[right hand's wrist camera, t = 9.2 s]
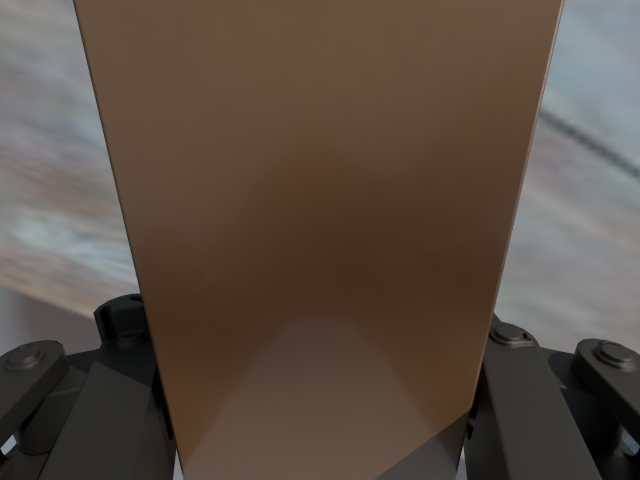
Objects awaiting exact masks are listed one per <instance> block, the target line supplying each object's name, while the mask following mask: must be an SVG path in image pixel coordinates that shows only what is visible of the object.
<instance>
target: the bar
mask: <svg viewBox="0 0 640 480" xmlns="http://www.w3.org/2000/svg"><path fill="white" fill-rule="evenodd" d="M564 2H565V0H73V3H74V8H75V12H76V16H77V21H78V25H79V29H80V34H81V38H82V42H83V47H84V51H85V55H86V60H87V64H88V68H89V72H90V77H91V81H92V85H93V90H94V94H95V98H96V103H97V107H98V111H99V116H100V120H101V124H102V129H103V133H104V137H105V142H106V146H107V150H108V155H109V159H110V163H111V168H112V172H113V176H114V181H115V185H116V189H117V194H118V198H119V202H120V206H121V211H122V215H123V219H124V224H125V228H126V232H127V237H128V241H129V245H130V250H131V254H132V258H133V263H134V267H135V271H136V276H137V280H138V284H139V289H140V293H141V297H142V302H143V306H144V310H145V315H146V319H147V323H148V328H149V332H150V336H151V340H152V345H153V349H154V353H155V358H156V362H157V366H158V371H159V375H160V379H161V384H162V388H163V392H164V397H165V401H166V405H167V410H168V414H169V418H170V423H171V427H172V431H173V436H174V440H175V444H176V449H177V453H178V457H179V462H180V466H181V470H182V474H183V479H184V480H455V478H456V474H457V469H458V465H459V461H460V456H461V452H462V447H463V443H464V439H465V434H466V430H467V426H468V421H469V417H470V412H471V408H472V404H473V399H474V395H475V391H476V386H477V382H478V377H479V373H480V369H481V364H482V360H483V356H484V351H485V347H486V343H487V338H488V334H489V329H490V325H491V321H492V316H493V312H494V308H495V303H496V299H497V294H498V290H499V286H500V281H501V277H502V273H503V268H504V264H505V259H506V255H507V251H508V246H509V242H510V238H511V233H512V229H513V225H514V220H515V216H516V211H517V207H518V203H519V198H520V194H521V190H522V185H523V181H524V176H525V172H526V168H527V163H528V159H529V155H530V150H531V146H532V141H533V137H534V133H535V128H536V124H537V120H538V115H539V111H540V107H541V102H542V98H543V93H544V89H545V85H546V80H547V76H548V72H549V67H550V63H551V58H552V54H553V50H554V45H555V41H556V37H557V32H558V28H559V24H560V19H561V15H562V10H563V6H564Z"/></svg>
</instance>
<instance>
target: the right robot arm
mask: <svg viewBox="0 0 640 480" xmlns="http://www.w3.org/2000/svg"><path fill="white" fill-rule="evenodd" d="M94 317H95V320H96V324H97V327H98V330H99V334H100V337H101V341H102V344H101V346H100V349H96V350H92V351H86V352H81V353H76V354H71V355H66V354H65V351H64V348H63V345H62V344H60V343H59V342H57V341H51V340H45V341H37V342H31V343H28V344H24V345H21V346H19V347H17V348H15V349H13V350H11V351H9V352H7V353H5V354H4V355H2V356H1V357H0V448H1V447H2V446H3V445H4V443H5V442H6V441H7V440H8V439H9V438H10V437H11V435H12V434H13V436H14V438H15V440H16V442H17V443H16V445H15V446H14V447H13V448H12V449H11V450H10V451H9V452H8V453H7V454H6V455H4V454H3V453H2V451H1V449H0V480H173V473H174V464H175V456H176V444H175V440H174V436H173V431H172V427H171V423H170V418H169V414H168V410H167V405H166V401H165V397H164V392H163V388H162V384H161V379H160V375H159V371H158V366H157V362H156V358H155V353H154V349H153V345H152V340H151V336H150V332H149V328H148V323H147V319H146V315H145V310H144V306H143V302H142V297H141V293H140V294H129V295H124V296H120V297H117V298H115V299H112V300H109V301H108V302H106V303H104V304H103V305H101V306H99V307H98V308H97V309H96V311H95V312H94ZM627 433H629V434H630V435H631V437H632V438H633V439H634V440H635V441H636V442H637V443H638V444H639V446H640V355H639V354H638V353H636V352H635V351H633V350H631V349H628V348H626V347H624V346H623V345H621V344H618V343H615V342H614V343H613V342H612V341H608V340H600V339H584V340H582V341H581V342H579V343H578V344H577V347H576V350H575V353H574V354H571V353H566V352H561V351H556V350H551V349H546V348H542V347H540V346H539V344H538V342H537V341H536V339H535V338H534V337H533V336H532V335H531V334H530V333H528V332H527V331H525V330H524V329H522V328H520V327H517V326H515V325H513V324H509V323H505V322H501V321H500V320H499V318H498V317H497V316H496V315H495V313H494V312H493V316H492V321H491V325H490V329H489V334H488V338H487V343H486V347H485V351H484V356H483V360H482V364H481V369H480V373H479V377H478V382H477V386H476V391H475V395H474V399H473V404H472V408H471V412H470V417H469V421H468V426H467V430H466V434H465V439H464V443H463V446H464V455H465V463H466V472H467V480H640V448H639V450H638V452H637V453H636V454H635V453H634V452H633V451H632V450H630V449H629V447H628V446H627V445H626V444H625V443H624V442H623V441H624V439H625V437H626V435H627Z"/></svg>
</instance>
